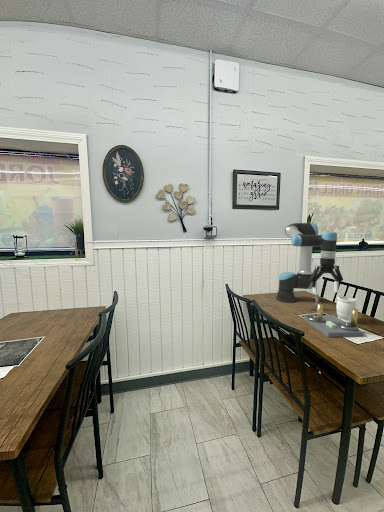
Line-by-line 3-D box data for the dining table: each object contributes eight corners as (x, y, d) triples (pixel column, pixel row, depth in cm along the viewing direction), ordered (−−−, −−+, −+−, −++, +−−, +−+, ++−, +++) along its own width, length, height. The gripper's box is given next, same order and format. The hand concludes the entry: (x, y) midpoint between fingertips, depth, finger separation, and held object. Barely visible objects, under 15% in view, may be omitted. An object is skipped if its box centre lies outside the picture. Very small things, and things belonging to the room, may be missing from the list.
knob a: (303, 316, 143) (304, 300, 142) (318, 315, 144) (319, 300, 143) (312, 322, 133) (313, 305, 132) (328, 322, 134) (329, 305, 133)
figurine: (323, 308, 164) (324, 293, 162) (326, 312, 157) (327, 296, 156) (307, 307, 166) (308, 292, 164) (309, 310, 159) (311, 295, 158)
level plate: (303, 319, 145) (304, 312, 144) (332, 318, 146) (333, 311, 145) (328, 337, 121) (328, 328, 120) (362, 336, 122) (363, 328, 121)
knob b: (346, 331, 122) (347, 312, 121) (333, 323, 132) (335, 306, 131) (363, 330, 123) (364, 312, 121) (349, 323, 133) (351, 306, 131)
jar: (357, 324, 137) (360, 301, 135) (339, 323, 139) (341, 300, 137) (349, 317, 147) (351, 296, 145) (332, 316, 149) (334, 295, 147)
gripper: (311, 258, 126) (309, 294, 128) (352, 258, 128) (349, 293, 130) (304, 257, 133) (302, 290, 136) (342, 256, 135) (339, 289, 138)
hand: (325, 292), depth 133 cm, fingers open, 13 cm apart
